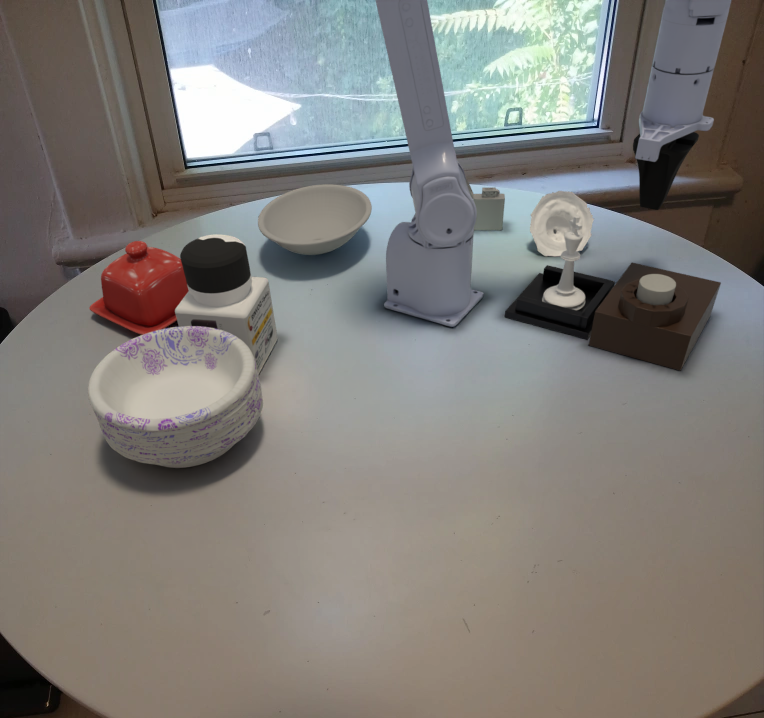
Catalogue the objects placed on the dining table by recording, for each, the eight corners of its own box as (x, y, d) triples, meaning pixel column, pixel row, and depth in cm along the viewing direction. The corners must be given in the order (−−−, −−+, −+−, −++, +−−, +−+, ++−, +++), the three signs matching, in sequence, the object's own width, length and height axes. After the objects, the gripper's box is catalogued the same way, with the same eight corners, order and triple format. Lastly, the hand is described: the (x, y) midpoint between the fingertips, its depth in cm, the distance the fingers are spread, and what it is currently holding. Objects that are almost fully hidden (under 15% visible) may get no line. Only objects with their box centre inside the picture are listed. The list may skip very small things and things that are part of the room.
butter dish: (149, 347, 83) (128, 278, 77) (87, 317, 88) (62, 250, 82) (222, 302, 89) (207, 235, 83) (160, 277, 94) (141, 212, 88)
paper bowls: (127, 510, 65) (98, 443, 59) (101, 414, 75) (75, 348, 69) (288, 460, 69) (276, 392, 63) (244, 374, 79) (230, 309, 73)
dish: (291, 215, 105) (287, 180, 102) (387, 224, 102) (386, 188, 99) (243, 275, 94) (236, 238, 90) (350, 287, 91) (347, 249, 87)
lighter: (501, 224, 101) (506, 164, 95) (502, 230, 100) (507, 170, 94) (450, 224, 101) (452, 165, 96) (450, 230, 100) (452, 170, 94)
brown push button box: (587, 346, 80) (597, 297, 76) (624, 295, 87) (634, 247, 83) (679, 372, 76) (695, 321, 72) (710, 316, 83) (726, 267, 79)
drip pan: (504, 317, 85) (506, 299, 83) (538, 278, 90) (540, 261, 89) (587, 339, 81) (590, 321, 79) (617, 297, 87) (621, 280, 85)
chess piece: (559, 316, 83) (572, 231, 76) (533, 297, 86) (543, 213, 79) (594, 304, 84) (610, 220, 77) (567, 286, 87) (580, 203, 80)
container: (257, 378, 78) (235, 265, 69) (190, 372, 79) (159, 260, 70) (279, 338, 83) (261, 228, 74) (215, 333, 85) (189, 224, 75)
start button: (631, 301, 75) (634, 286, 74) (642, 285, 78) (645, 270, 76) (666, 310, 74) (670, 294, 73) (676, 293, 76) (680, 278, 75)
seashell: (560, 267, 100) (599, 215, 97) (566, 272, 95) (607, 217, 92) (513, 232, 98) (551, 178, 95) (517, 235, 93) (557, 178, 90)
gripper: (705, 94, 64) (668, 241, 74) (744, 50, 73) (705, 187, 82) (627, 83, 67) (600, 227, 77) (672, 42, 75) (643, 176, 85)
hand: (650, 206), depth 80 cm, fingers closed
